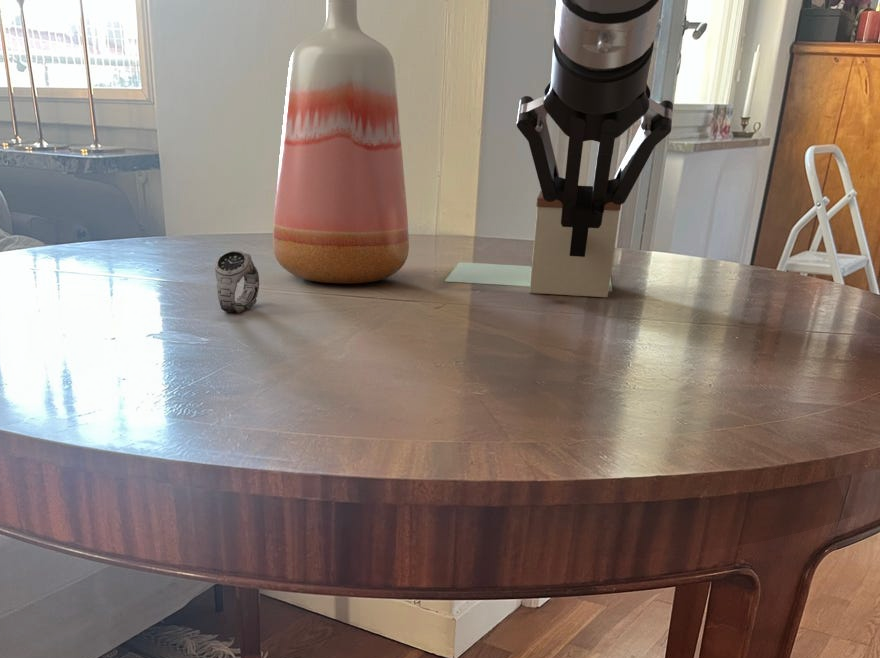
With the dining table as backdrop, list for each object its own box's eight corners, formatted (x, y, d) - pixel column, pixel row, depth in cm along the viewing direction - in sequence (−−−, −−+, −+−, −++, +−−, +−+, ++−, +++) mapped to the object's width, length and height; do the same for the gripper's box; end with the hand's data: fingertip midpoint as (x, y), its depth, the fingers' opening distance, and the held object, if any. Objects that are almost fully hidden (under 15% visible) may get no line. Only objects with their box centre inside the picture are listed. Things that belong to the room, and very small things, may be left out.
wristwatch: (209, 313, 85) (205, 254, 83) (237, 301, 90) (234, 244, 88) (245, 316, 85) (242, 256, 82) (272, 304, 90) (270, 247, 87)
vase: (389, 266, 111) (395, -45, 96) (423, 289, 99) (437, -64, 84) (265, 268, 107) (252, -55, 93) (285, 291, 95) (274, -76, 81)
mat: (609, 272, 113) (609, 270, 113) (612, 293, 101) (612, 291, 101) (459, 263, 115) (459, 262, 115) (444, 283, 103) (444, 281, 103)
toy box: (606, 284, 104) (618, 194, 100) (608, 298, 97) (621, 201, 93) (531, 280, 105) (540, 190, 101) (528, 293, 98) (536, 197, 94)
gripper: (512, 73, 72) (508, 273, 94) (689, 79, 70) (642, 281, 92) (522, -5, 73) (516, 209, 96) (696, -1, 72) (648, 216, 94)
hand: (578, 244), depth 94 cm, fingers closed
